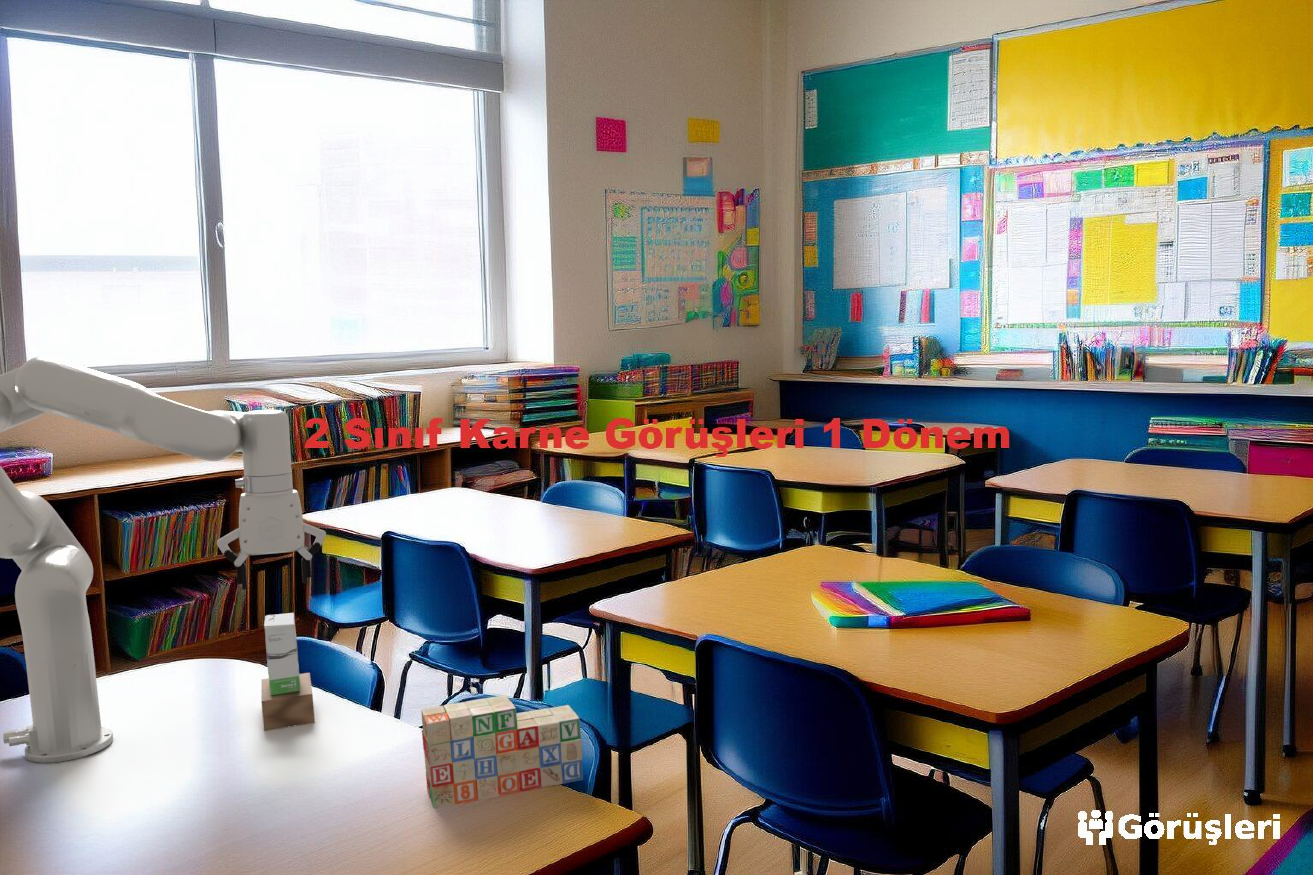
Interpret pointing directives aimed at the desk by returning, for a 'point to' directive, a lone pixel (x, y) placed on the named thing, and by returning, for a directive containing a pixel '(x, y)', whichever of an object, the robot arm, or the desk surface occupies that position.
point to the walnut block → (287, 705)
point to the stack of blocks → (497, 749)
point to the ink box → (282, 653)
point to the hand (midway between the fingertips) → (275, 585)
